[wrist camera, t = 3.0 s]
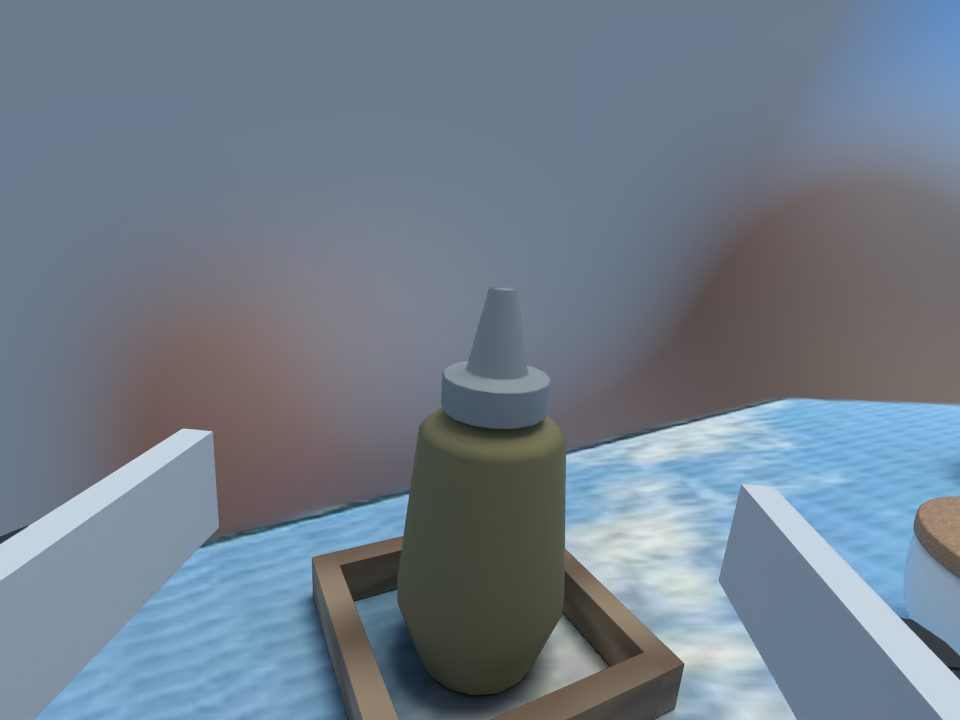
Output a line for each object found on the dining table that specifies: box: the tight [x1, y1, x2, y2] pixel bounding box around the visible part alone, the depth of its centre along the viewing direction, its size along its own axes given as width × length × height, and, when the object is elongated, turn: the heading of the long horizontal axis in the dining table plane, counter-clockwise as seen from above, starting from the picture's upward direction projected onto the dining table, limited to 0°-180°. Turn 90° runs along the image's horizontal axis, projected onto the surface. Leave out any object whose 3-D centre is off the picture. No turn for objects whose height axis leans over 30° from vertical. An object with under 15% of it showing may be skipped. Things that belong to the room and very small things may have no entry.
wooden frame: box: [312, 536, 684, 720], centre depth 26 cm, size 13×13×2 cm
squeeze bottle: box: [397, 287, 566, 695], centre depth 24 cm, size 8×8×18 cm
